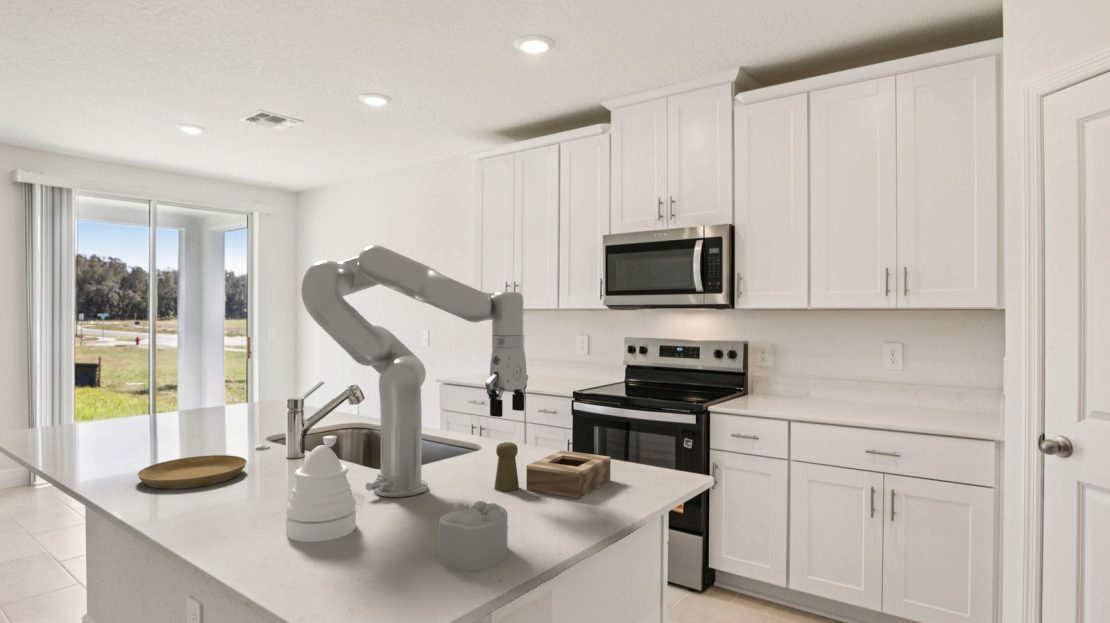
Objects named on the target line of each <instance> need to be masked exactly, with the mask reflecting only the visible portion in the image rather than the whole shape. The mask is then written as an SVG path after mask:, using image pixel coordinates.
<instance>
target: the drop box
mask: <svg viewBox="0 0 1110 623" xmlns="http://www.w3.org/2000/svg"><path fill="white" fill-rule="evenodd" d="M610 481H611V456H607V455H599V454H591V453H583V452H577V451H568V450H560V451H557V452H555V453H553V454H551V455H548V456H546V457H543V458H541V459H538V460H535V461H533V462H531V463H528V464H527V465H526V491H530V492H534V493H535V492H536V493H540V492H541V494H547V495H553V496H558V497H564V496H567V497H566V498H570V497H573V498H572V499H576V498H579V499H581V498H583V497H585V496H586V495H587V493H588V494H589V492H590V491H591V492H593V491H595V490H597V489H598V488H599V486H600V487H602V486H603V485H605V484H607V483H609V482H610ZM606 482H607V483H606ZM604 483H605V484H604ZM601 485H602V486H601ZM597 487H598V488H597ZM594 489H595V490H594ZM592 490H593V491H592ZM591 492H590V493H591ZM585 494H586V495H585ZM582 496H583V497H582ZM580 497H581V498H580Z"/></svg>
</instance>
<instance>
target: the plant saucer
mask: <svg viewBox="0 0 1110 623" xmlns="http://www.w3.org/2000/svg"><path fill="white" fill-rule="evenodd" d="M247 461H248V460H247V459H246V458H244V457H241V456H237V455H230V454H229V455H227V454H216V455H212V454H211V455H195V456H189V457H182V458H177V459H171V460H166V461H162V462H158V463H155V464H151V465H149V466H146V467H144V468H142V469H141V470H139V471H138V472H137V476H138V478H139V479H140V481H141V482H143V483H144V484H145V485H147V486H148V487H149V486H150V487H151V488H154V489H162V490H163V489H164V490H180V489H193V488H200V487H206V486H212V485H216V484H219V483H223V482H226V481H229V480H231V479H233V478H234V477H236V476H237V475H238V474H240V473H242V471H243V470H244V469H245V467H246V464H247Z"/></svg>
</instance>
